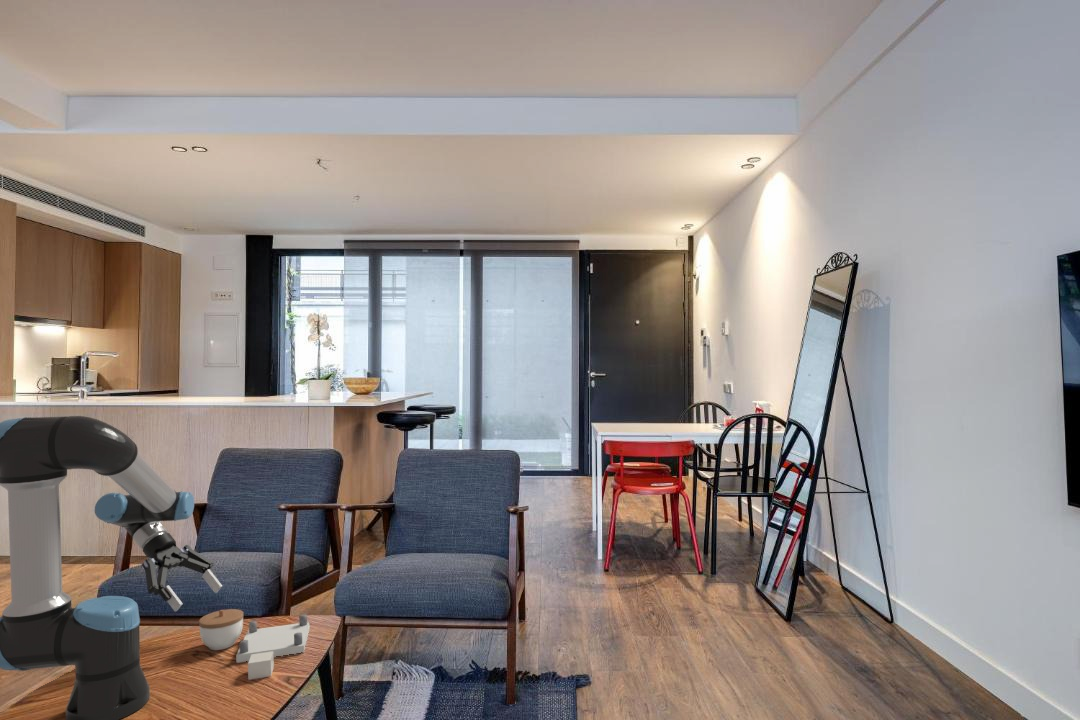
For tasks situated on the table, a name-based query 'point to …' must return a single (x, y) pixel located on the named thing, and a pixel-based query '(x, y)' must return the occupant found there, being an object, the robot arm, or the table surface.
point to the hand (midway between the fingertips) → (199, 598)
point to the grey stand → (274, 639)
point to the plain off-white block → (260, 665)
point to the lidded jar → (221, 628)
